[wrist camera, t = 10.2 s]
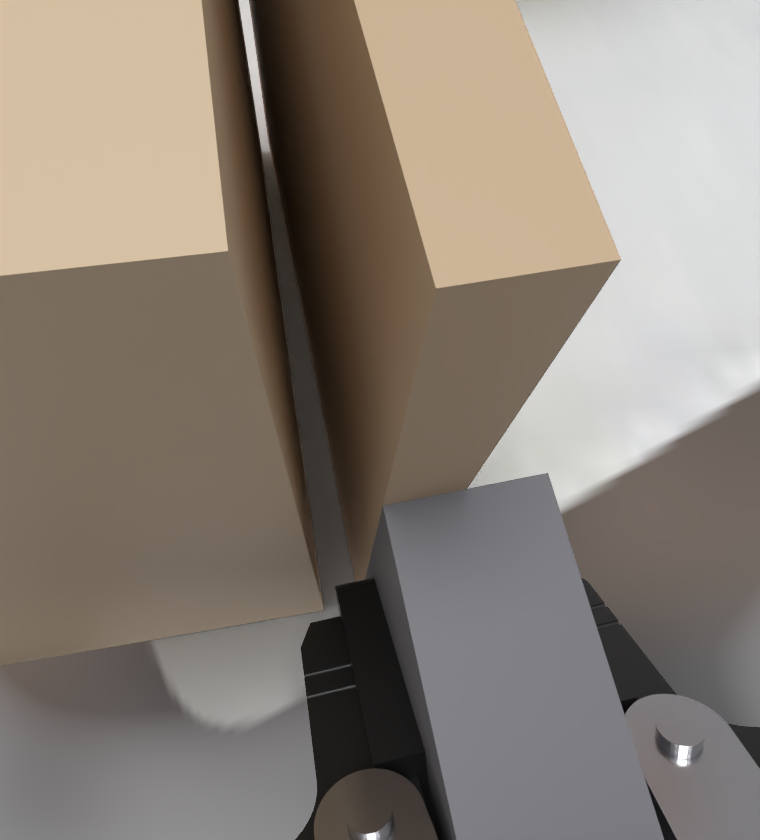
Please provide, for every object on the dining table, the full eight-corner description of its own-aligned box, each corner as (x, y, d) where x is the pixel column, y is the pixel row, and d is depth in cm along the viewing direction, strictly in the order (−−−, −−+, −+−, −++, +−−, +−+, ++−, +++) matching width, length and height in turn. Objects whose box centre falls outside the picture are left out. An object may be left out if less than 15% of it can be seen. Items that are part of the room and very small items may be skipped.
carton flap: (268, 138, 23) (152, -711, 9) (324, 132, 23) (298, -705, 9) (401, 814, 15) (942, 2074, 2) (481, 793, 16) (1577, 1715, 2)
